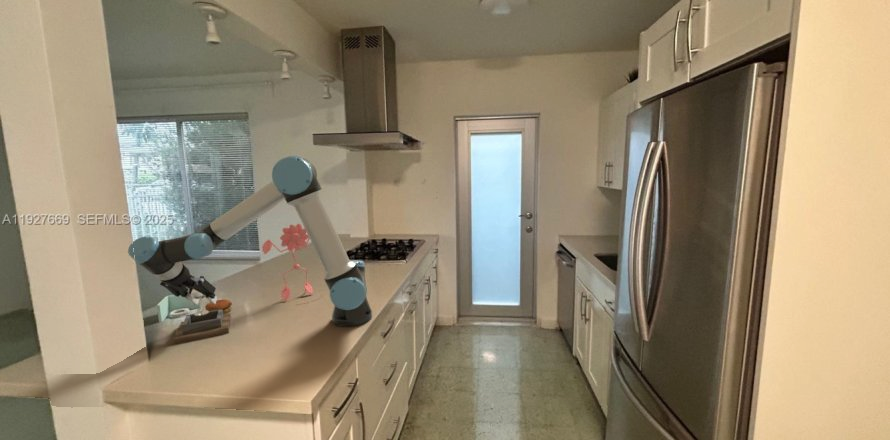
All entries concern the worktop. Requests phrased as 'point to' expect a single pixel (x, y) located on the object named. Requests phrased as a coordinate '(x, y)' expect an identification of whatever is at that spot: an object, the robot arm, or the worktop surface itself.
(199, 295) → the wineglass
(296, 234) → the figurine
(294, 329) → the worktop surface
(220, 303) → the burger
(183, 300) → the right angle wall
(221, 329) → the socket base
